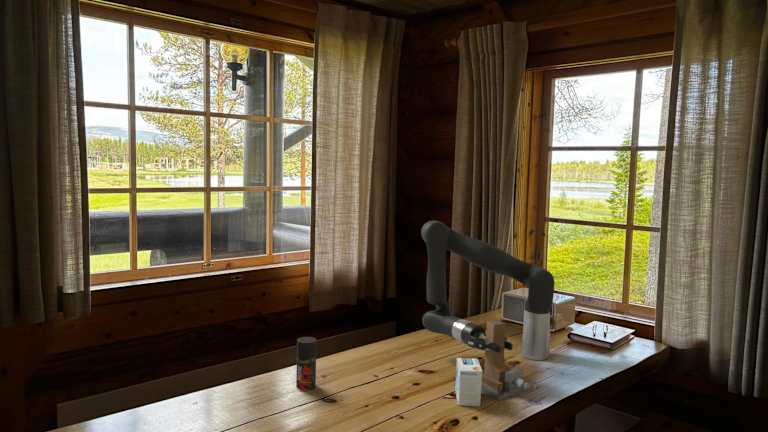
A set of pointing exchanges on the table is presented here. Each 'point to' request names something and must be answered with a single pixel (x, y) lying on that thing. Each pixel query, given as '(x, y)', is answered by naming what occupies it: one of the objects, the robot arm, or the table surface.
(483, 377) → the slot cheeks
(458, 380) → the light bulb box
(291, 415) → the table surface
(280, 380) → the table surface
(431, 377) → the table surface
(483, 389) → the shaft bed
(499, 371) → the wooden block
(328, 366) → the table surface
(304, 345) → the deodorant
